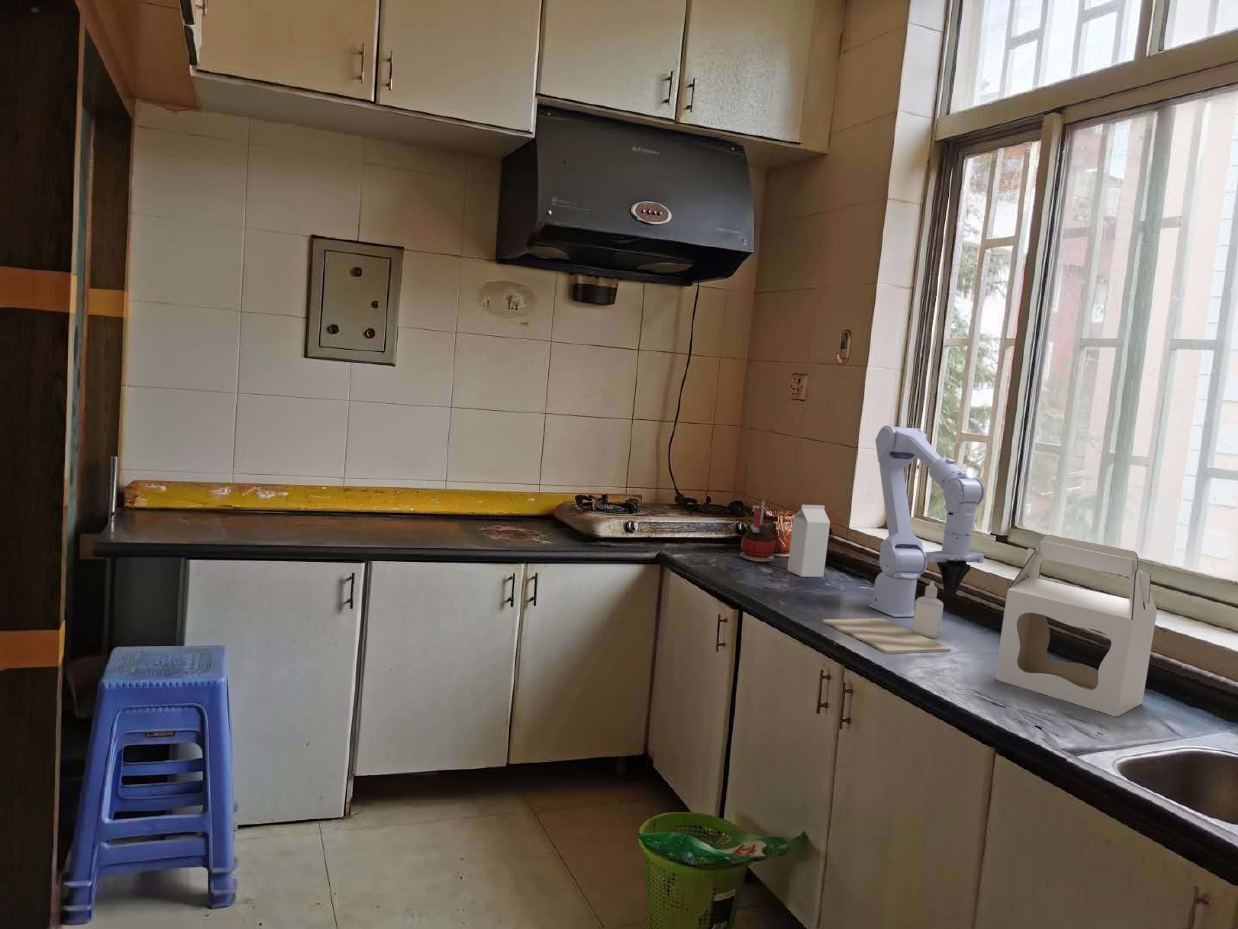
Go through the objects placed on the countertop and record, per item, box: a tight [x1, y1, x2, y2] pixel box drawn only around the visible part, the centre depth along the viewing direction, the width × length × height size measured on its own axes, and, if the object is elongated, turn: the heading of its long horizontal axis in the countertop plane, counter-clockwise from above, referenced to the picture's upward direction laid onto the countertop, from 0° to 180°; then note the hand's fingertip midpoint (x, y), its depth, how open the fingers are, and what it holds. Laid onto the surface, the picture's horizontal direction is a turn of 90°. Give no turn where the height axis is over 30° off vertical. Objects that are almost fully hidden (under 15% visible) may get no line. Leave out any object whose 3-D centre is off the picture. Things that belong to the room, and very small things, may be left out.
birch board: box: [822, 617, 952, 655], centre depth 203 cm, size 22×16×1 cm
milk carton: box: [786, 504, 831, 578], centre depth 259 cm, size 7×7×19 cm
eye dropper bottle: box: [911, 580, 944, 639], centre depth 207 cm, size 4×6×12 cm
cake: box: [739, 497, 777, 563], centre depth 273 cm, size 11×9×18 cm
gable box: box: [994, 534, 1158, 718], centre depth 176 cm, size 22×13×28 cm, turn 44°
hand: (949, 594), depth 209 cm, fingers closed
